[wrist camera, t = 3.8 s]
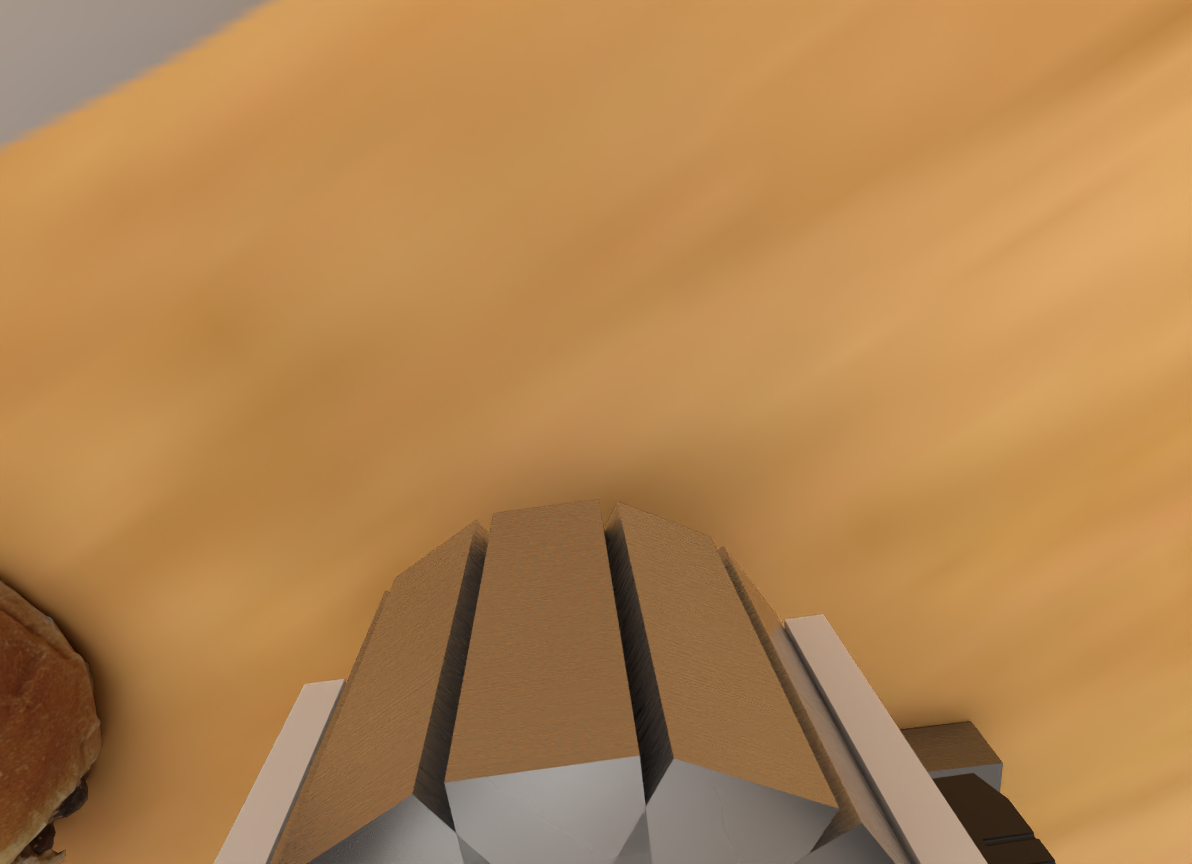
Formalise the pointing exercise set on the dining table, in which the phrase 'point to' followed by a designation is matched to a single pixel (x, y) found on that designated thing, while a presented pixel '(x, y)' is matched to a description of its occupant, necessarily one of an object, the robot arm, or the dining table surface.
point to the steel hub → (582, 713)
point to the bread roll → (41, 731)
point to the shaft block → (955, 752)
